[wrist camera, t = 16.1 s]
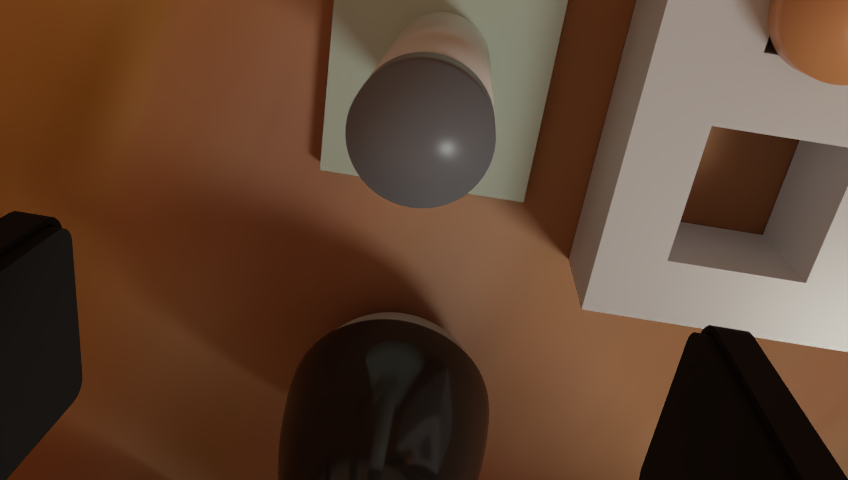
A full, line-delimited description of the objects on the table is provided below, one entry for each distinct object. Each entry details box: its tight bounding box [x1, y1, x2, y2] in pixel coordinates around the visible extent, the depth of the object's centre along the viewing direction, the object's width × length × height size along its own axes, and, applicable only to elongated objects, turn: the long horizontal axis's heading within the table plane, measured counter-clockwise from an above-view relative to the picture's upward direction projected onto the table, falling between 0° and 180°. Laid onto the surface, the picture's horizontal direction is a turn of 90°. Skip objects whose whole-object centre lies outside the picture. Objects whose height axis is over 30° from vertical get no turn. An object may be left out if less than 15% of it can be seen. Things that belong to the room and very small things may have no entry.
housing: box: [569, 0, 848, 352], centre depth 29 cm, size 18×12×5 cm, turn 172°
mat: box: [320, 0, 568, 203], centre depth 31 cm, size 12×10×1 cm
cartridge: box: [345, 11, 496, 208], centre depth 26 cm, size 4×4×12 cm
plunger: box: [768, 0, 848, 85], centre depth 26 cm, size 5×5×6 cm
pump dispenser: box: [278, 312, 489, 480], centre depth 32 cm, size 10×10×15 cm
